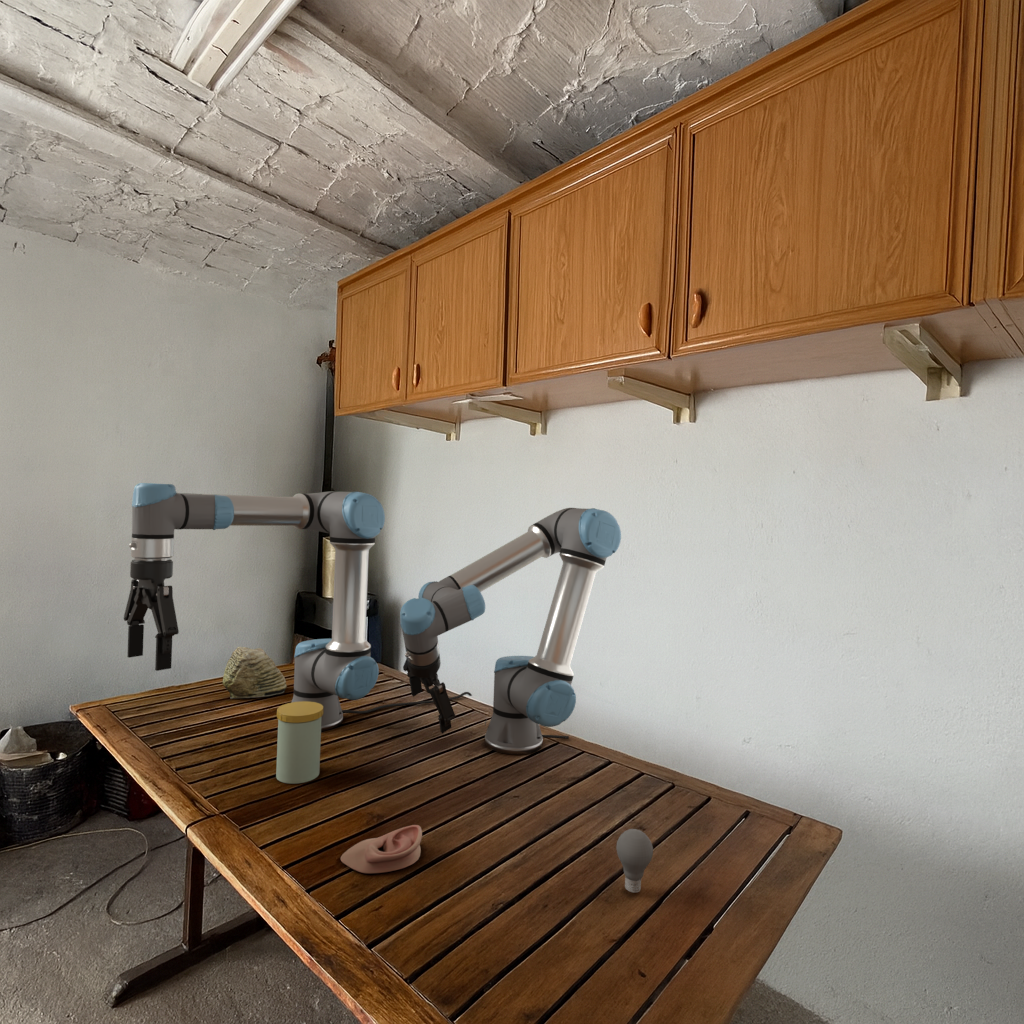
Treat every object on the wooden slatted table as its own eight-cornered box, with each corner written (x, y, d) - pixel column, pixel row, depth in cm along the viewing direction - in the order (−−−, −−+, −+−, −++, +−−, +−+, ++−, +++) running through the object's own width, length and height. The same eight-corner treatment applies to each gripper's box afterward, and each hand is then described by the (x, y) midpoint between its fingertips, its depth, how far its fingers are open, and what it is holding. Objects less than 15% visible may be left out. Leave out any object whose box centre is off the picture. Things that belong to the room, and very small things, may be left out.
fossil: (218, 695, 195) (220, 647, 195) (278, 685, 208) (279, 640, 207) (228, 703, 189) (230, 653, 188) (289, 692, 201) (290, 645, 201)
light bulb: (610, 879, 108) (613, 822, 108) (644, 879, 109) (647, 822, 109) (619, 902, 102) (622, 840, 102) (655, 901, 103) (658, 840, 103)
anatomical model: (332, 845, 108) (361, 813, 119) (331, 868, 108) (361, 834, 119) (406, 857, 105) (428, 823, 117) (405, 880, 106) (428, 844, 117)
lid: (290, 706, 149) (290, 699, 149) (330, 710, 148) (331, 703, 148) (267, 720, 139) (268, 713, 139) (311, 724, 138) (311, 717, 138)
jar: (288, 764, 149) (291, 702, 149) (326, 768, 148) (328, 705, 147) (268, 781, 140) (270, 715, 140) (307, 785, 139) (310, 719, 138)
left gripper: (108, 554, 134) (104, 654, 134) (159, 565, 118) (155, 678, 119) (146, 552, 140) (143, 648, 140) (199, 563, 124) (195, 671, 124)
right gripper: (382, 630, 152) (393, 686, 165) (438, 699, 136) (445, 754, 149) (409, 616, 156) (418, 671, 168) (467, 681, 140) (471, 737, 153)
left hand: (148, 662), depth 129 cm, fingers open, 13 cm apart
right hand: (431, 711), depth 159 cm, fingers open, 13 cm apart
